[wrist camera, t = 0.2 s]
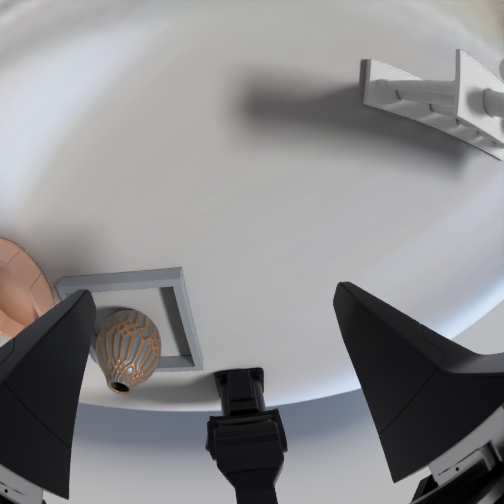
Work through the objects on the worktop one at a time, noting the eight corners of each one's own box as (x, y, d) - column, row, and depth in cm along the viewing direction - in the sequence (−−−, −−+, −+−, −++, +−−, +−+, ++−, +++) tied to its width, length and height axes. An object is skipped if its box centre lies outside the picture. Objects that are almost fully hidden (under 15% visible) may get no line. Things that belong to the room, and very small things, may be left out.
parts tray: (202, 358, 32) (203, 370, 30) (105, 360, 30) (102, 370, 29) (181, 267, 25) (180, 278, 23) (62, 277, 23) (56, 287, 22)
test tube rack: (362, 104, 19) (485, 123, 8) (366, 59, 17) (487, 47, 6) (500, 160, 23) (571, 197, 12) (505, 131, 21) (577, 162, 10)
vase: (101, 296, 25) (75, 359, 18) (163, 302, 27) (151, 371, 19) (111, 339, 29) (95, 399, 21) (165, 346, 30) (159, 409, 22)
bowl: (71, 328, 27) (62, 348, 24) (7, 325, 26) (-2, 341, 23) (28, 230, 20) (11, 246, 17) (-32, 244, 19) (-47, 257, 16)
